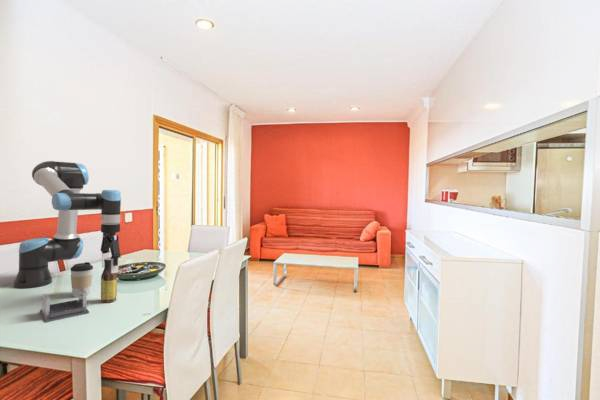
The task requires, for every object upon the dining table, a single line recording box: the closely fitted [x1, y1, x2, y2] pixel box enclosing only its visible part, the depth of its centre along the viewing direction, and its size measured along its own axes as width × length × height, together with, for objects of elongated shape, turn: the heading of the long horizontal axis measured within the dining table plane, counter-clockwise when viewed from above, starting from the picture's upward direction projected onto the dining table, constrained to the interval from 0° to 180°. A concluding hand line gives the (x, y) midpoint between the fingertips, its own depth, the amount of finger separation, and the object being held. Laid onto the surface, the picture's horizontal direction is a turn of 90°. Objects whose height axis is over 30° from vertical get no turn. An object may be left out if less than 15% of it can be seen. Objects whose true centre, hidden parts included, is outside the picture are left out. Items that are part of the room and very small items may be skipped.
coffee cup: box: [70, 262, 94, 298], centre depth 150 cm, size 9×9×15 cm
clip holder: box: [39, 288, 90, 323], centre depth 129 cm, size 14×14×8 cm
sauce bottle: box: [100, 257, 118, 304], centre depth 144 cm, size 6×6×20 cm
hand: (109, 269), depth 143 cm, fingers open, 13 cm apart
